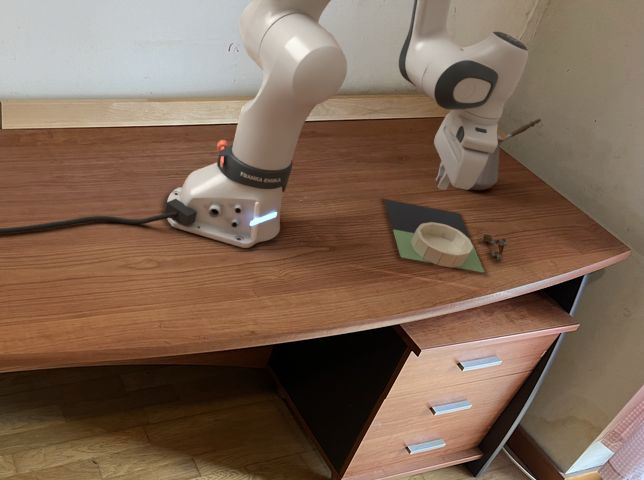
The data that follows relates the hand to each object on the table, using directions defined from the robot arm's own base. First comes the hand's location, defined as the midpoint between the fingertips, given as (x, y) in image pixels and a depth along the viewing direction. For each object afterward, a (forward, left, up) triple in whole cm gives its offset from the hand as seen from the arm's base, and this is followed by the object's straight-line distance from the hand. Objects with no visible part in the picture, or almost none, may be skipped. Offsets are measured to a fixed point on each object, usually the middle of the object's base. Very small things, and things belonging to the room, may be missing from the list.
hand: (440, 186), depth 146 cm
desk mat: (0, -6, -8) cm, 10 cm away
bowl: (+1, -12, -8) cm, 14 cm away
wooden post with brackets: (+13, -8, -9) cm, 17 cm away
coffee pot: (+19, +24, -9) cm, 32 cm away
